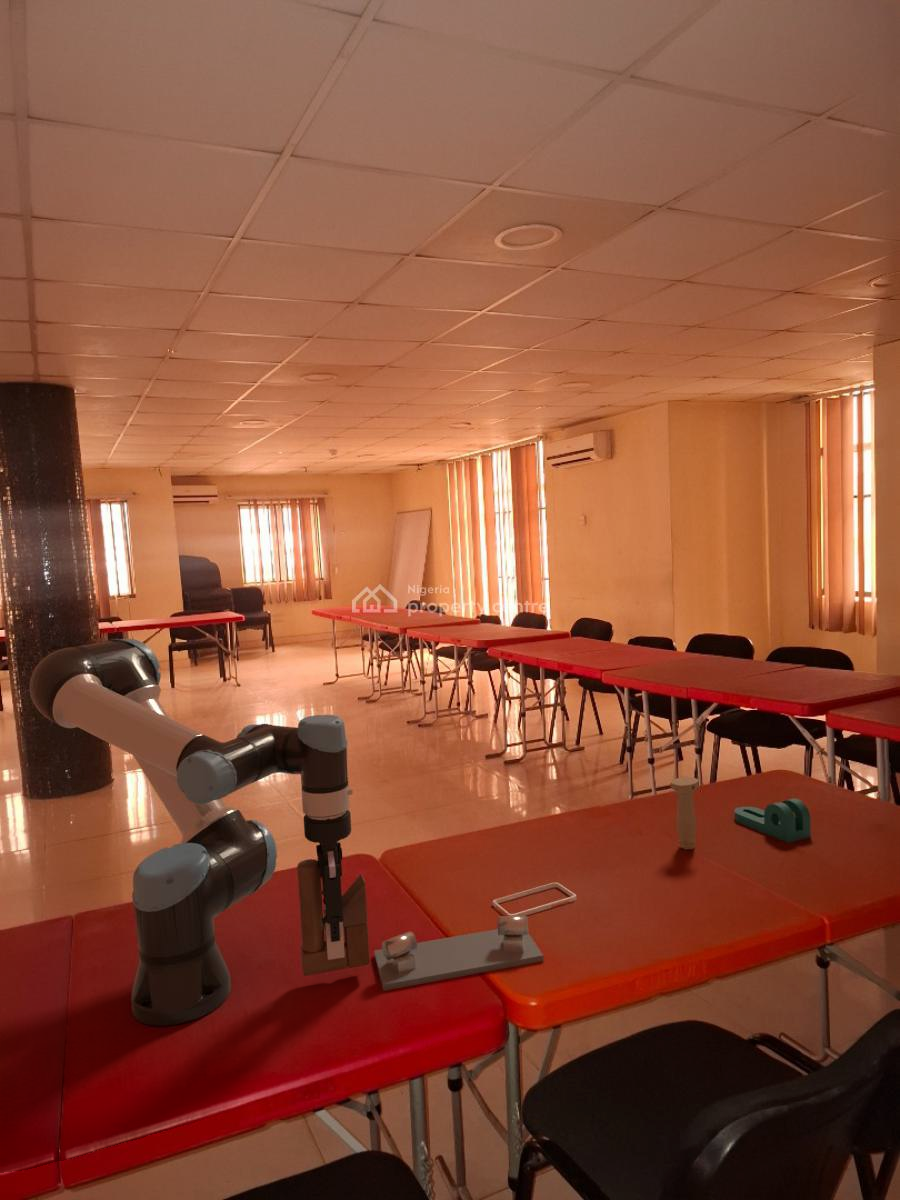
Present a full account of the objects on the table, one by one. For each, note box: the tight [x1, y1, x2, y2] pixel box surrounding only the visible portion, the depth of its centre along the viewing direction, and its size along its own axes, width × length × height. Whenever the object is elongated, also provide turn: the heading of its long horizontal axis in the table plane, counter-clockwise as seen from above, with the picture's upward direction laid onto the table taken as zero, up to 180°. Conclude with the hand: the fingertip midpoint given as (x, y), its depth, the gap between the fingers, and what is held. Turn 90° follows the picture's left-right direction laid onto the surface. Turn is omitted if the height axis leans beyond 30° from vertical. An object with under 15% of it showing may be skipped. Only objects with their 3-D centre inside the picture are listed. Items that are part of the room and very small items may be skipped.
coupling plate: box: [373, 928, 545, 992], centre depth 133 cm, size 27×11×1 cm, turn 103°
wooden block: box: [297, 858, 371, 977], centre depth 128 cm, size 4×11×18 cm, turn 105°
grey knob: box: [497, 915, 529, 952], centre depth 134 cm, size 5×4×5 cm
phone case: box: [492, 882, 577, 916], centre depth 152 cm, size 7×1×15 cm
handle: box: [670, 776, 700, 851], centre depth 173 cm, size 5×6×15 cm
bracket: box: [733, 797, 812, 844], centre depth 182 cm, size 18×7×8 cm, turn 24°
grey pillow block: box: [381, 930, 418, 975], centre depth 130 cm, size 5×4×5 cm
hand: (335, 950), depth 129 cm, fingers closed on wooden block, 4 cm apart
